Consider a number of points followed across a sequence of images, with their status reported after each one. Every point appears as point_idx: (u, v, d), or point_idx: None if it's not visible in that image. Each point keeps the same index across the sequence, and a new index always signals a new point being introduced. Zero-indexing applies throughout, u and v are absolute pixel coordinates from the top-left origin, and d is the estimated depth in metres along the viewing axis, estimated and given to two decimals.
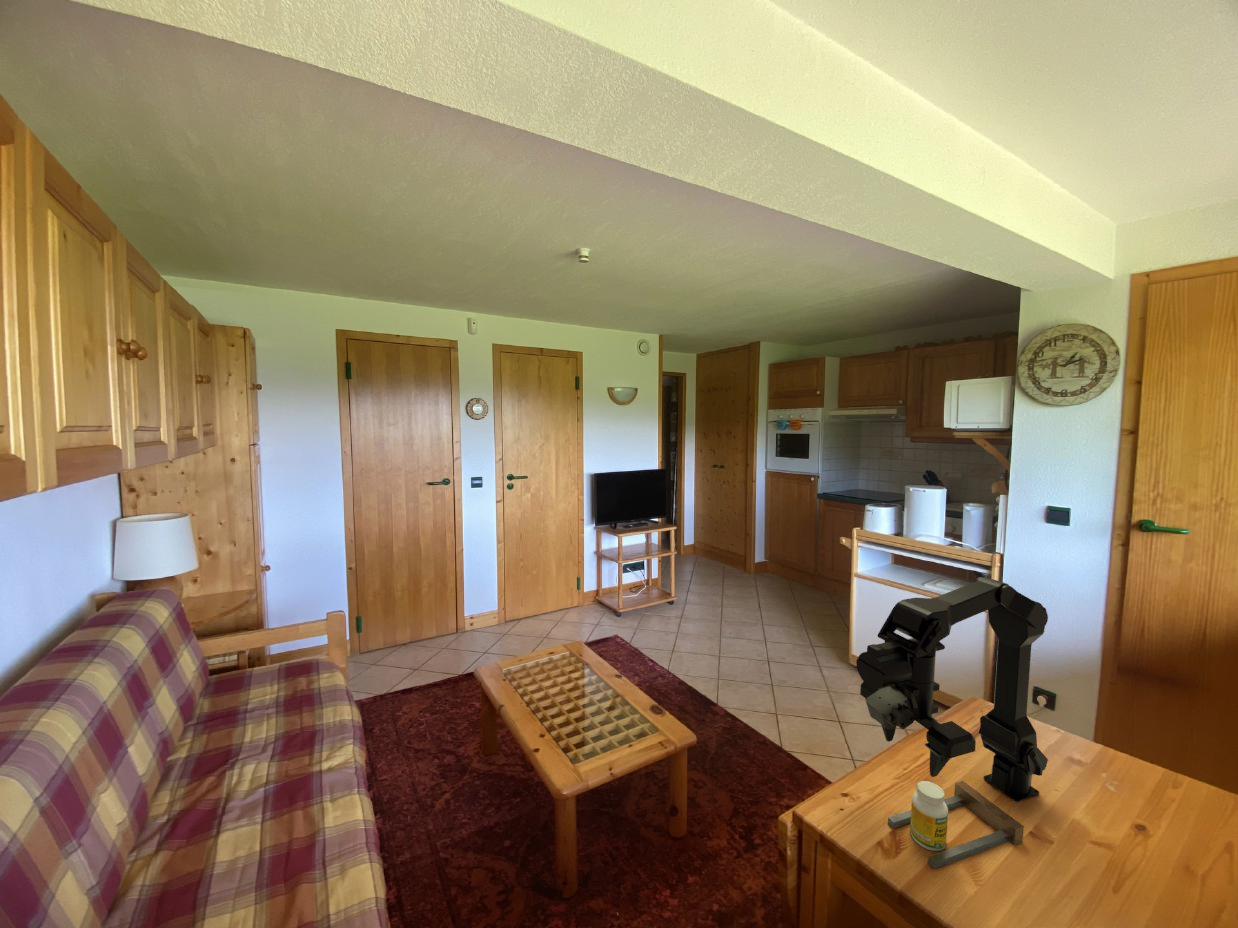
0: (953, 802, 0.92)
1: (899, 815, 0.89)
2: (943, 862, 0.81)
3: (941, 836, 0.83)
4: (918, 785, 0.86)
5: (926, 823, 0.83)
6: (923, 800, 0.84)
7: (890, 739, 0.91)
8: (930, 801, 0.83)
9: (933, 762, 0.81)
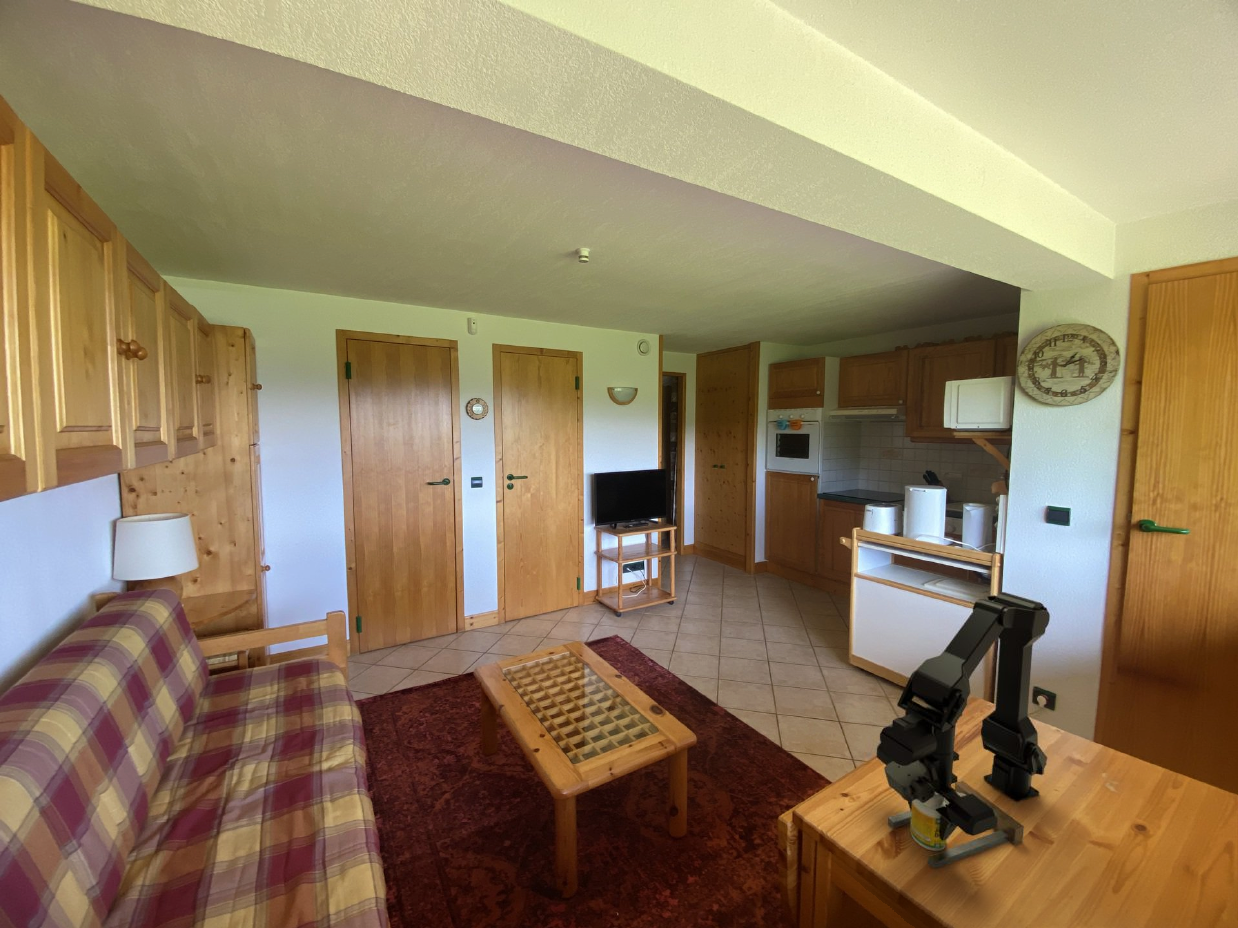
0: None
1: (899, 815, 0.89)
2: (943, 862, 0.81)
3: None
4: None
5: (926, 823, 0.83)
6: None
7: None
8: (930, 801, 0.83)
9: (943, 827, 0.81)
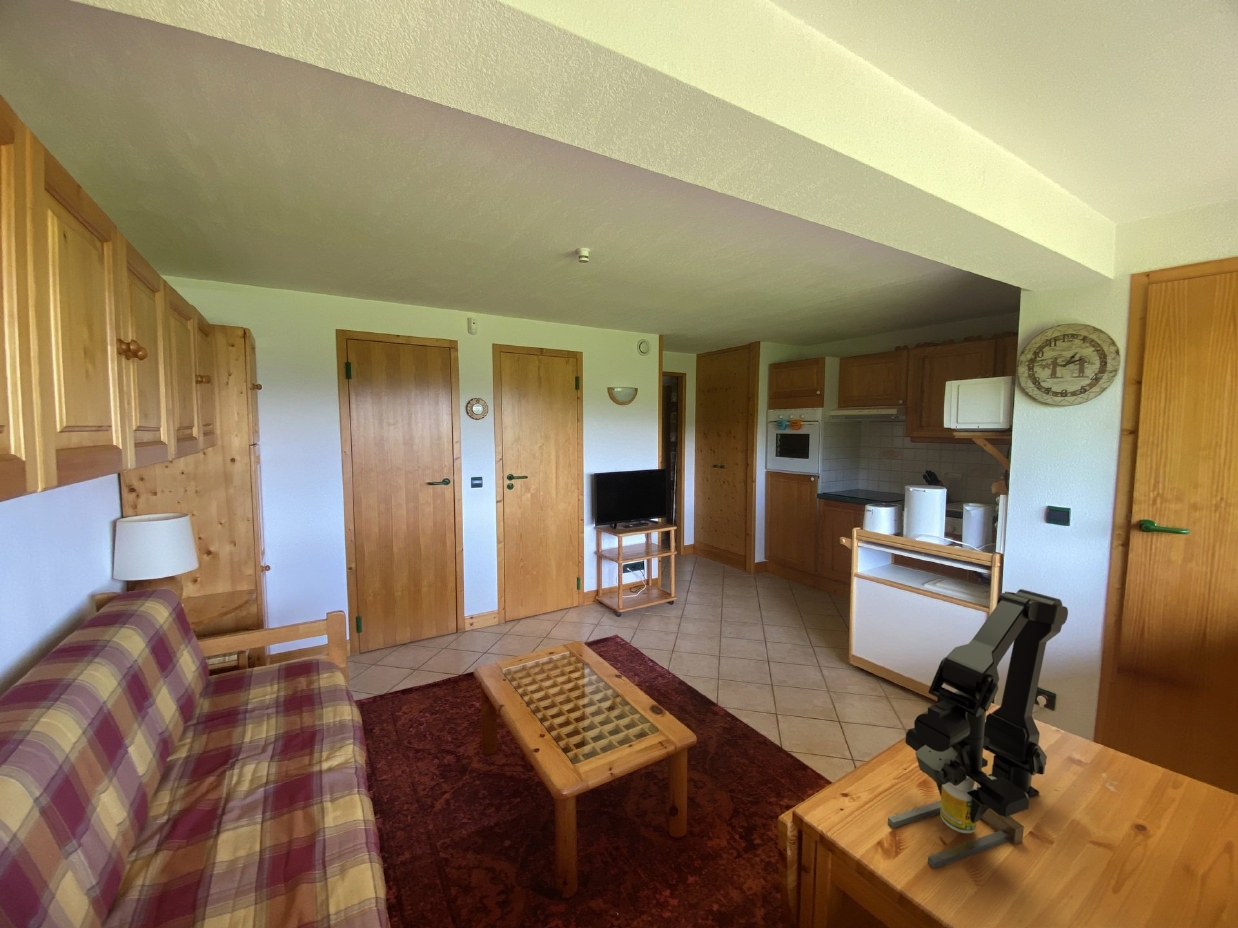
0: None
1: (899, 815, 0.89)
2: (943, 862, 0.81)
3: None
4: None
5: (957, 806, 0.85)
6: None
7: None
8: (961, 785, 0.85)
9: (974, 809, 0.83)
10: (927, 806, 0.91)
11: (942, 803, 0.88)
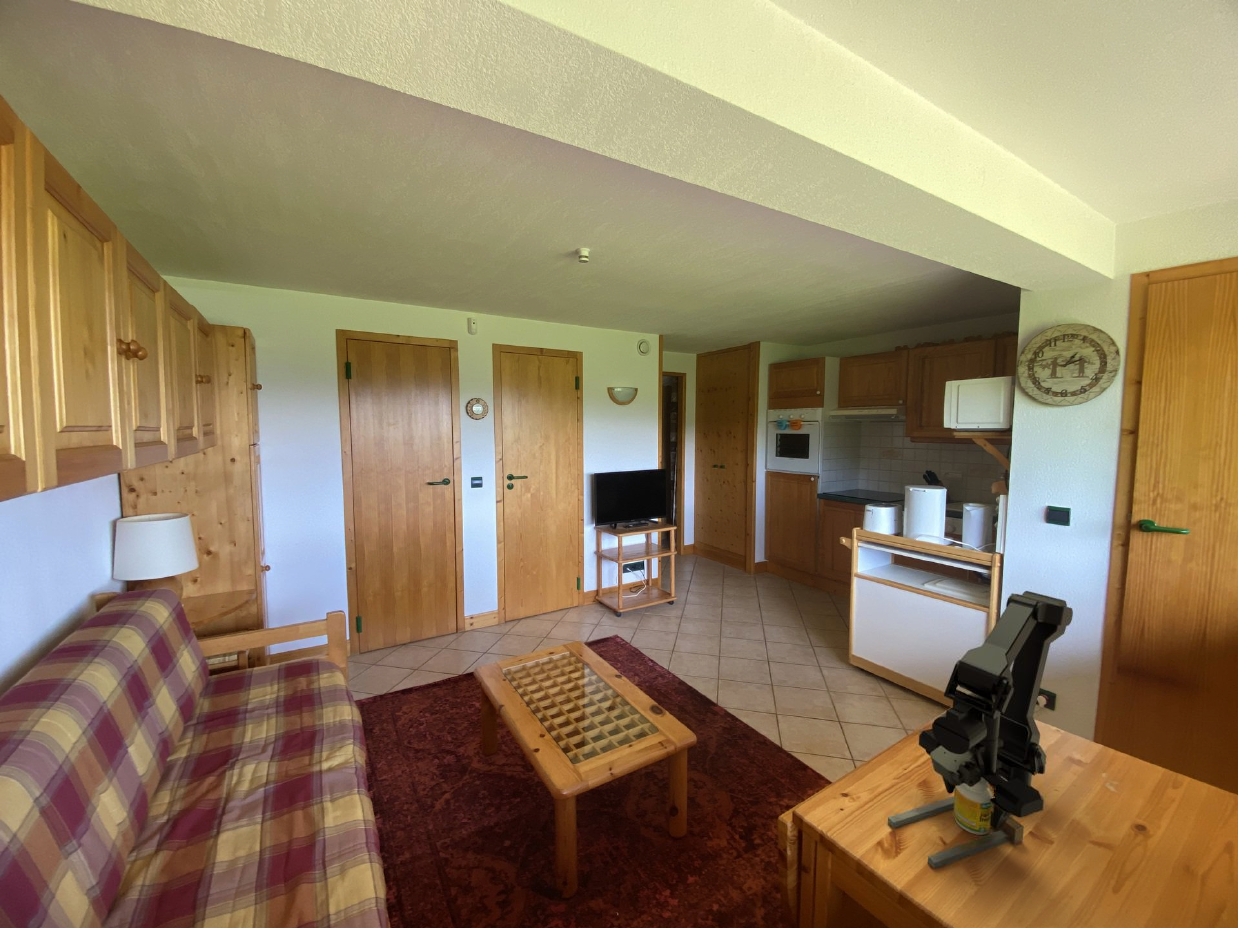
0: (953, 802, 0.92)
1: (899, 815, 0.89)
2: (943, 862, 0.81)
3: (986, 820, 0.86)
4: None
5: (971, 808, 0.86)
6: (967, 786, 0.87)
7: (951, 792, 0.92)
8: (975, 787, 0.86)
9: (997, 816, 0.83)
10: (927, 806, 0.91)
11: (956, 805, 0.89)
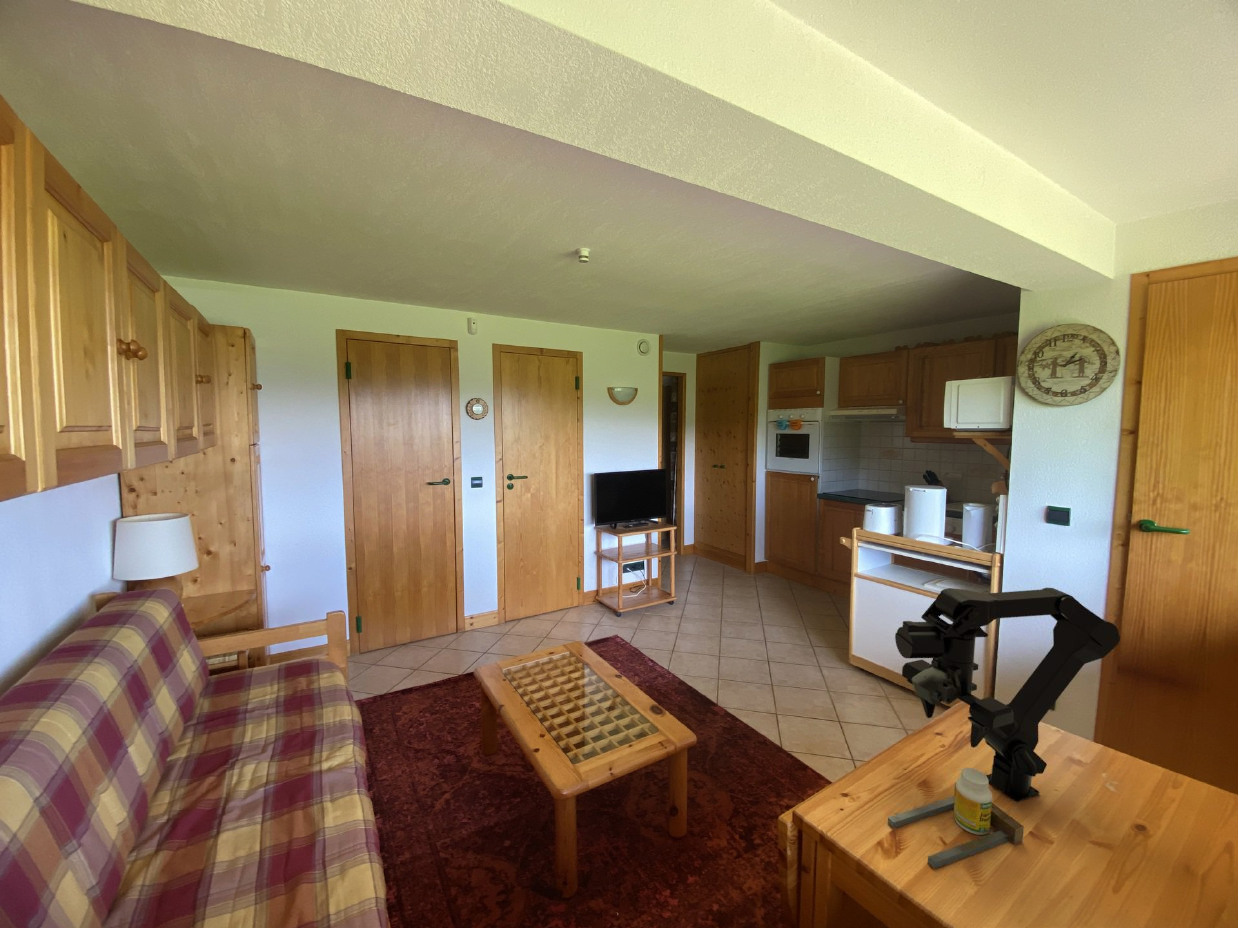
0: (953, 802, 0.92)
1: (899, 815, 0.89)
2: (943, 862, 0.81)
3: (986, 820, 0.86)
4: (962, 772, 0.89)
5: (971, 808, 0.86)
6: (967, 786, 0.87)
7: (930, 716, 1.00)
8: (975, 787, 0.86)
9: (974, 734, 0.90)
10: (927, 806, 0.91)
11: (956, 805, 0.89)
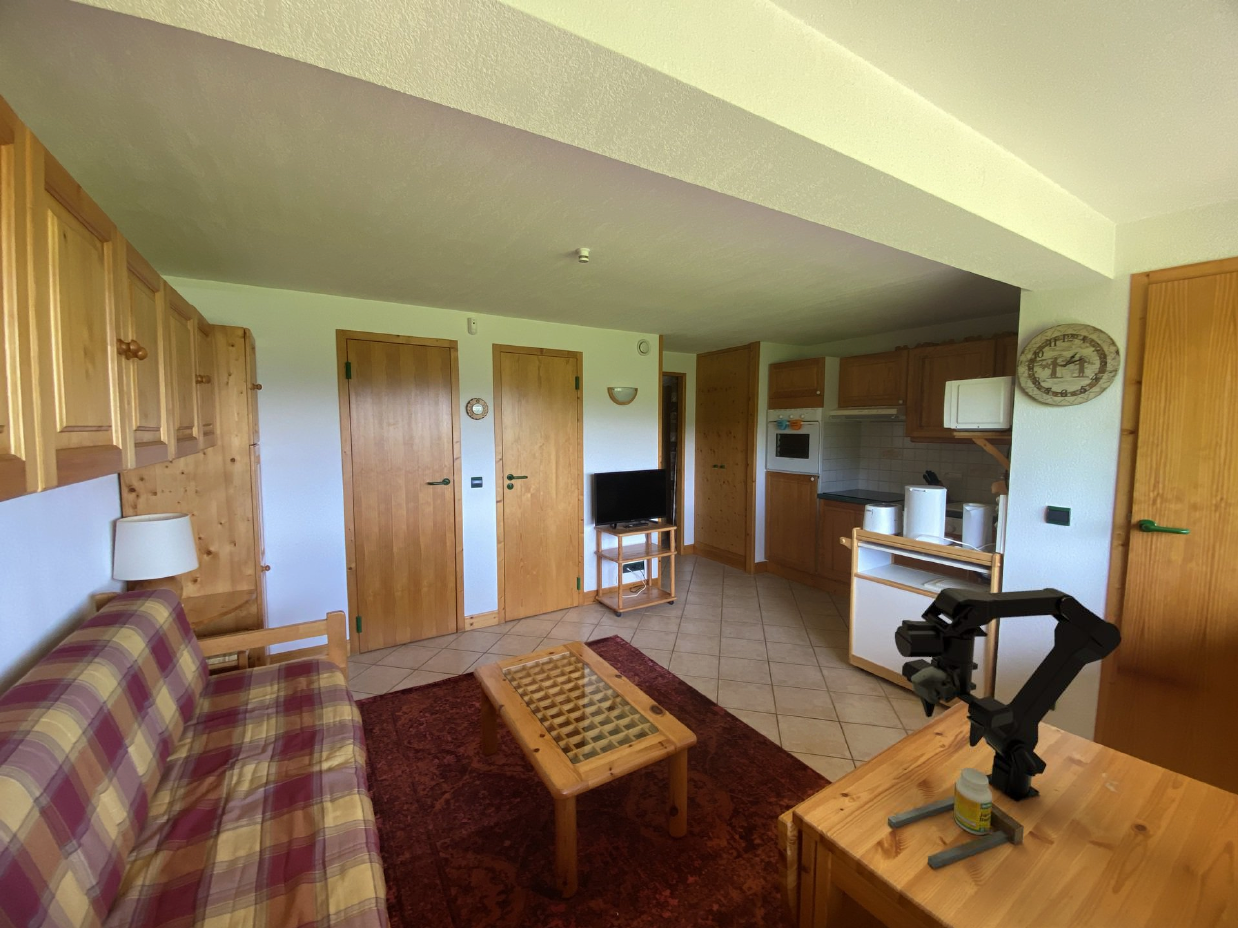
0: (953, 802, 0.92)
1: (899, 815, 0.89)
2: (943, 862, 0.81)
3: (986, 820, 0.86)
4: (962, 772, 0.89)
5: (971, 808, 0.86)
6: (967, 786, 0.87)
7: (929, 715, 1.00)
8: (975, 787, 0.86)
9: (973, 733, 0.90)
10: (927, 806, 0.91)
11: (956, 805, 0.89)
